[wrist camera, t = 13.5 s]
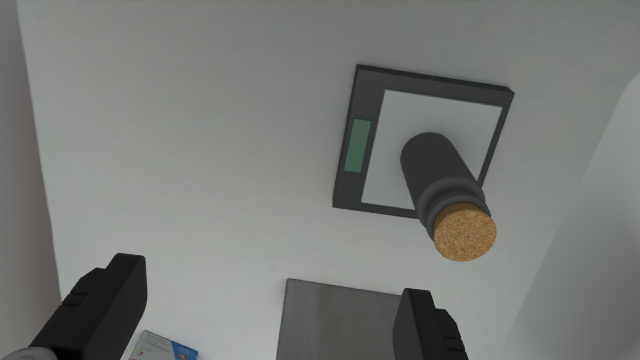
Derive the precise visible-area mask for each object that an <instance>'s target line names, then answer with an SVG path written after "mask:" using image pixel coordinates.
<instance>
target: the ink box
mask: <svg viewBox="0 0 640 360" xmlns="http://www.w3.org/2000/svg"><path fill="white" fill-rule="evenodd" d="M197 354H198V352H197V351H194V350H192V349H189V348H187V347H184V346H182V345H179V344H177V343H174V342H172V341H169V340H167V339H164V338H162V337H160V336H157V335H155V334H152V333H150V332H148V331H144V333H143V334H142V336H141V338H140V340H139V341H138V343H137V345H136V347H135V349H134V351H133V353H132V355H131V356H130V358H129V360H196V357H197Z"/></svg>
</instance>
